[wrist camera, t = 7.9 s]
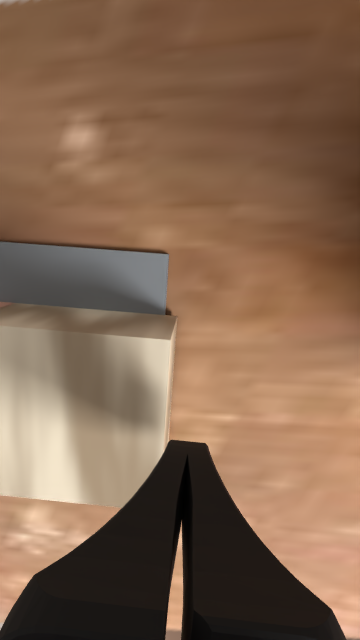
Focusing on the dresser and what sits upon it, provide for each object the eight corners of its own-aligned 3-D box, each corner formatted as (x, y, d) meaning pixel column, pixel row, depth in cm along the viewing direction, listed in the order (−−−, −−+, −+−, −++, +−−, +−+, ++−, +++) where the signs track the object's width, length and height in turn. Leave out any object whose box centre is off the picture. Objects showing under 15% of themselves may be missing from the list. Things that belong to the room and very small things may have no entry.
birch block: (170, 340, 13) (-61, 320, 13) (159, 511, 15) (-42, 490, 15) (177, 316, 17) (-2, 301, 17) (167, 454, 19) (7, 439, 19)
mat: (169, 254, 16) (168, 254, 16) (154, 494, 20) (153, 498, 19) (-31, 239, 17) (-35, 239, 16) (-11, 477, 20) (-14, 481, 20)
